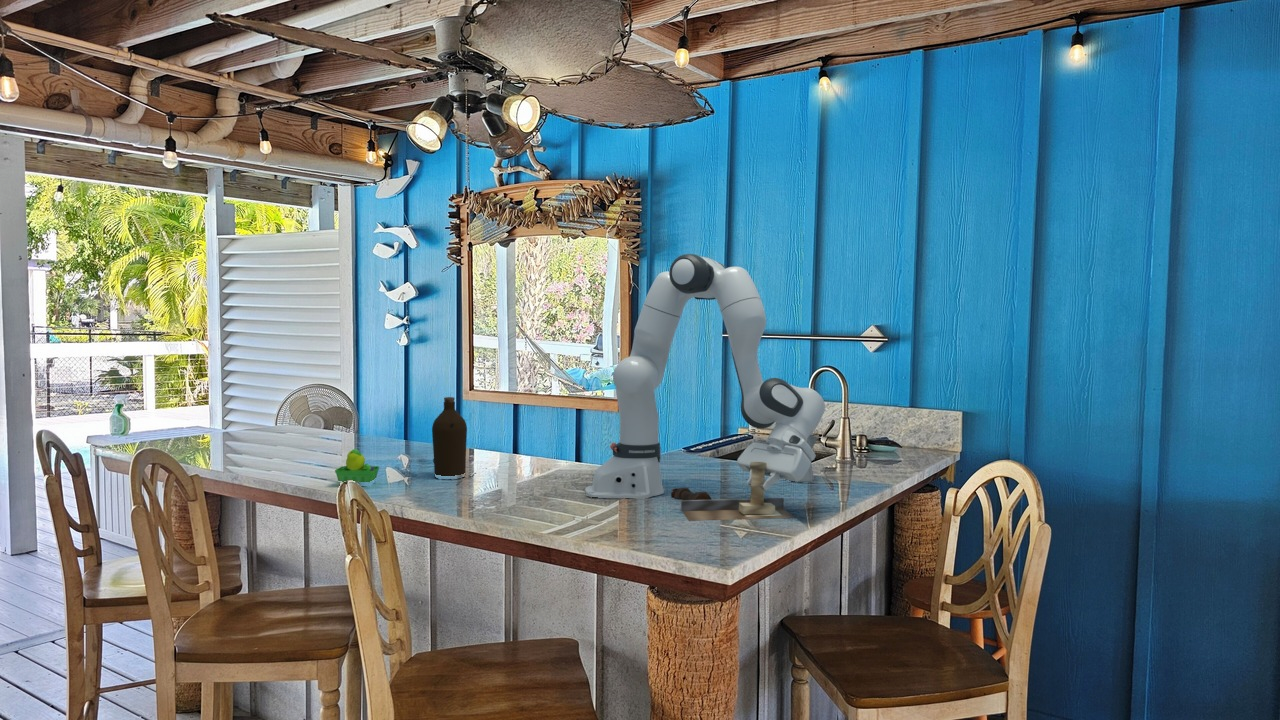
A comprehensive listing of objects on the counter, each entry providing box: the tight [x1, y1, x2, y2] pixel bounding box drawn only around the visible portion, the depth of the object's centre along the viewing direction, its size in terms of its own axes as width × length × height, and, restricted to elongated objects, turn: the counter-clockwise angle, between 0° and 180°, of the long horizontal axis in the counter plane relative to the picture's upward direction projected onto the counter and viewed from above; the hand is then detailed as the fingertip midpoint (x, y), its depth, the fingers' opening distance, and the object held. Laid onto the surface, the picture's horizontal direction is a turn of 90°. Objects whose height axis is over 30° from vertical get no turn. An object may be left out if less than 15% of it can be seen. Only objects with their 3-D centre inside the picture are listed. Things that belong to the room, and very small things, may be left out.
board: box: [680, 497, 796, 522], centre depth 204 cm, size 26×12×4 cm, turn 97°
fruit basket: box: [334, 448, 380, 483], centre depth 246 cm, size 11×9×11 cm
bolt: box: [670, 487, 712, 501], centre depth 219 cm, size 6×5×15 cm
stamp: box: [739, 462, 775, 514], centre depth 204 cm, size 8×4×12 cm, turn 98°
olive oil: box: [431, 396, 468, 476], centre depth 259 cm, size 11×11×25 cm
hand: (756, 487), depth 204 cm, fingers closed on stamp, 3 cm apart
